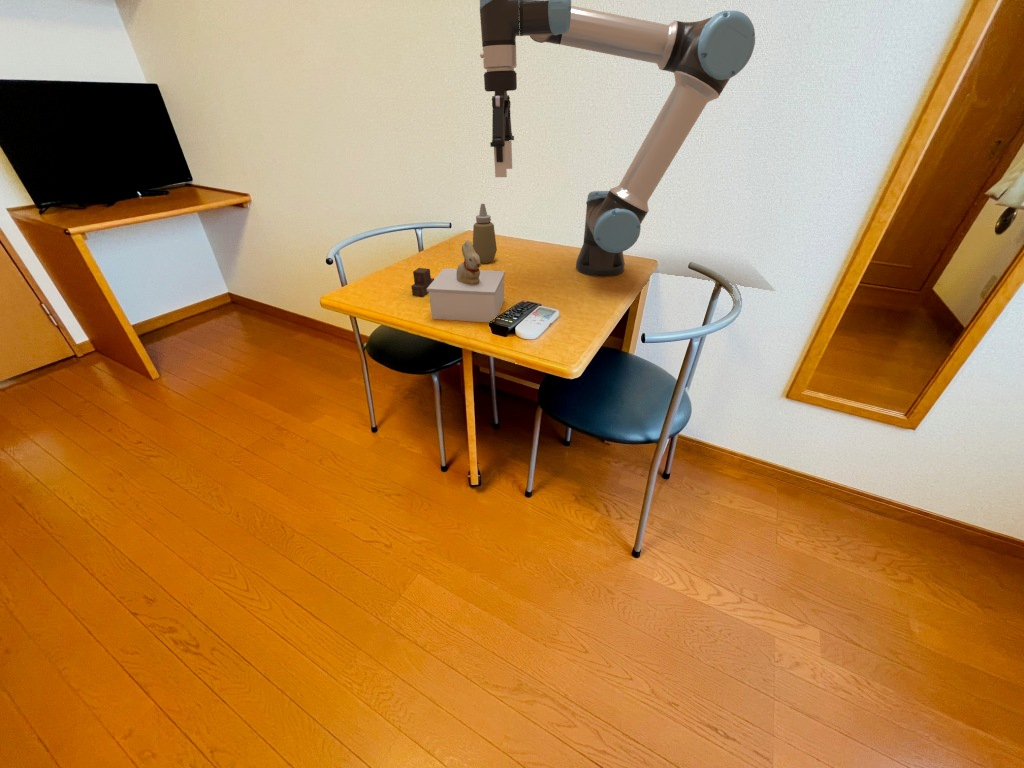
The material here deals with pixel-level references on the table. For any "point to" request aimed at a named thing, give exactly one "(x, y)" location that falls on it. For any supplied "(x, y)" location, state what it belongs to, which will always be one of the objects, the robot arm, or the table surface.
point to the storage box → (466, 296)
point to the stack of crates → (421, 282)
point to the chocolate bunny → (469, 265)
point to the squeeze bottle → (484, 236)
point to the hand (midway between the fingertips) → (504, 172)
